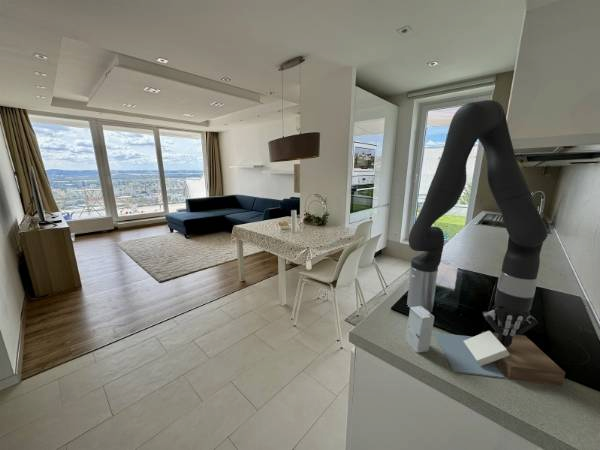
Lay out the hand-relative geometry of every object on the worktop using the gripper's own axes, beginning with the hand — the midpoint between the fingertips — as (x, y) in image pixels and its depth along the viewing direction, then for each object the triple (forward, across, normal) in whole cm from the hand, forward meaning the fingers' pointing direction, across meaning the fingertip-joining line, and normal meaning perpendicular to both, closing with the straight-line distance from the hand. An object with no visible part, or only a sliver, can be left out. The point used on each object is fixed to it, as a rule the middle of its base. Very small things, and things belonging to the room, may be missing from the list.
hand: (503, 344), depth 69 cm
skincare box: (+5, +22, -2) cm, 23 cm away
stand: (+5, -4, 0) cm, 6 cm away
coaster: (+2, +4, 0) cm, 5 cm away
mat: (+5, +9, -1) cm, 10 cm away
